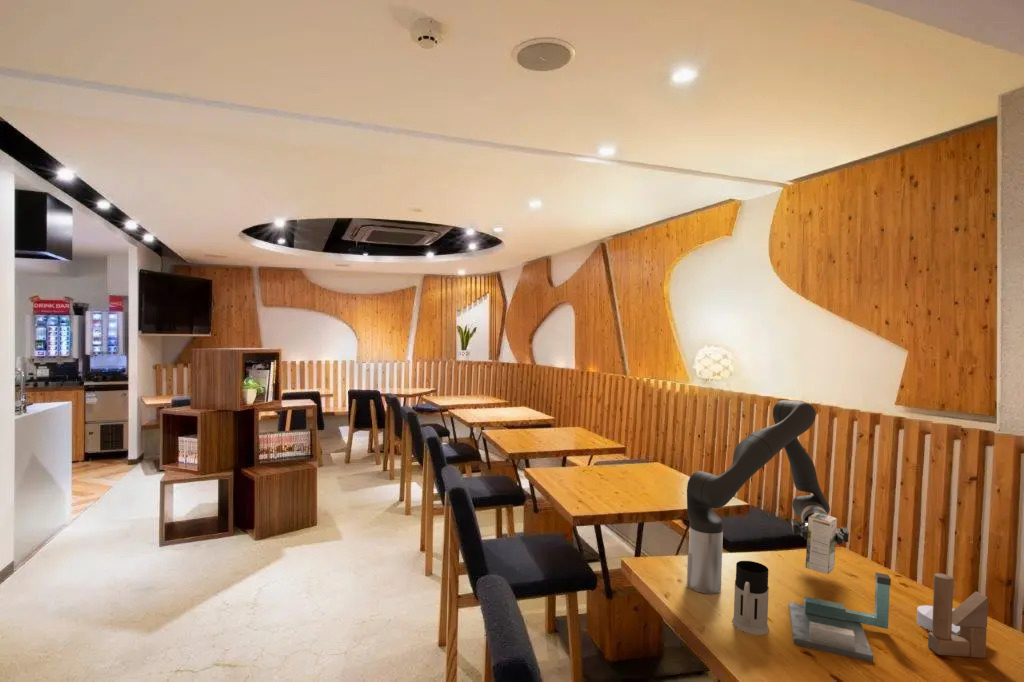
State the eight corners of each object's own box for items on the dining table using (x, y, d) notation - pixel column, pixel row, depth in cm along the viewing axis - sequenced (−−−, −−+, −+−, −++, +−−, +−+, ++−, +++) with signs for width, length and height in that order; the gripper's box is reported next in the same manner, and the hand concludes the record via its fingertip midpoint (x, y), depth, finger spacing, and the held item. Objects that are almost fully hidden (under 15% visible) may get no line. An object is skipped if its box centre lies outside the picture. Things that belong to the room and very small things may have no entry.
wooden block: (986, 658, 126) (989, 581, 126) (938, 655, 127) (940, 579, 126) (973, 649, 130) (976, 574, 129) (927, 646, 130) (929, 572, 130)
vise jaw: (805, 612, 142) (806, 564, 142) (804, 607, 145) (805, 560, 145) (889, 630, 134) (891, 579, 134) (886, 623, 137) (888, 574, 137)
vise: (794, 644, 129) (794, 625, 129) (788, 607, 148) (789, 590, 148) (873, 662, 123) (873, 642, 123) (857, 621, 141) (858, 604, 141)
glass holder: (771, 623, 139) (773, 565, 139) (763, 649, 127) (765, 585, 127) (735, 613, 144) (737, 556, 144) (724, 637, 132) (726, 576, 132)
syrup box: (811, 562, 154) (814, 511, 154) (835, 569, 150) (837, 517, 150) (805, 567, 150) (807, 515, 150) (828, 575, 146) (831, 521, 146)
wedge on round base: (987, 644, 132) (937, 617, 145) (988, 617, 132) (938, 592, 145) (955, 647, 131) (908, 618, 143) (956, 619, 131) (908, 593, 143)
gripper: (790, 504, 166) (793, 520, 151) (844, 512, 160) (854, 529, 145) (788, 528, 166) (792, 547, 151) (843, 537, 160) (852, 557, 145)
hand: (822, 538), depth 148 cm, fingers closed on syrup box, 7 cm apart
